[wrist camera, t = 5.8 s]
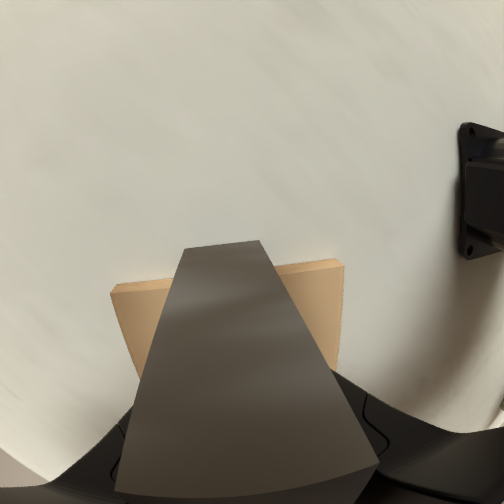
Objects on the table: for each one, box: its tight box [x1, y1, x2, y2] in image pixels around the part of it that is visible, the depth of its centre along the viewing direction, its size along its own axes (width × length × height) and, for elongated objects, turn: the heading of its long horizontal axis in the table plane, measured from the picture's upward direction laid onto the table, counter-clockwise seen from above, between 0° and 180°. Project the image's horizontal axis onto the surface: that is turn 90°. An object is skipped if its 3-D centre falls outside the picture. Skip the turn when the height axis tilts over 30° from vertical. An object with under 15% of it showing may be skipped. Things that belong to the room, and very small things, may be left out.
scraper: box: [110, 240, 380, 504], centre depth 9 cm, size 8×22×8 cm, turn 5°
